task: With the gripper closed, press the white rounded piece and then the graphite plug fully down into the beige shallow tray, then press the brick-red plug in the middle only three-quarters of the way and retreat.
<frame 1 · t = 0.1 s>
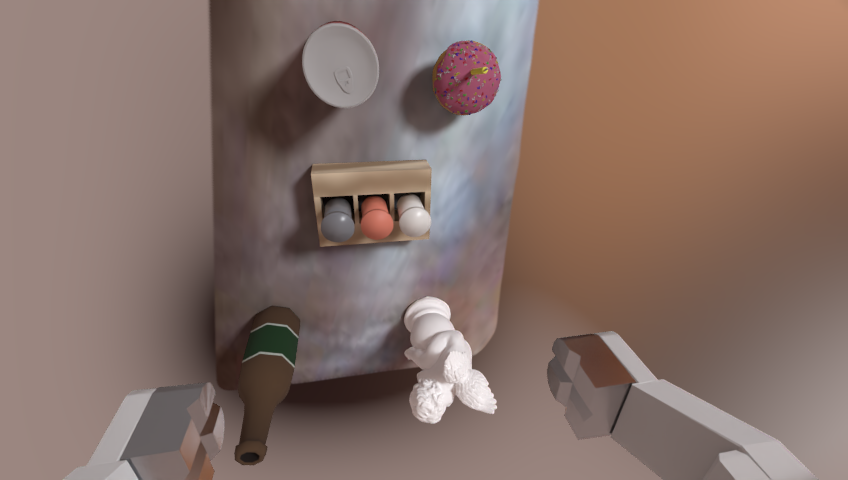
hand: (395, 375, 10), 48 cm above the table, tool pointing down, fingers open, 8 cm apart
red plug: (375, 216, 53), point 6 cm above the table, slide at 0.0 cm
cupcake: (457, 74, 52), on the table
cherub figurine: (427, 306, 71), on the table
beer bottle: (277, 321, 67), on the table
white rounded piece: (412, 213, 54), point 6 cm above the table, slide at 0.0 cm
canned food: (341, 57, 49), on the table
graphite plug: (337, 218, 53), point 6 cm above the table, slide at 0.0 cm
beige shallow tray: (372, 197, 59), on the table
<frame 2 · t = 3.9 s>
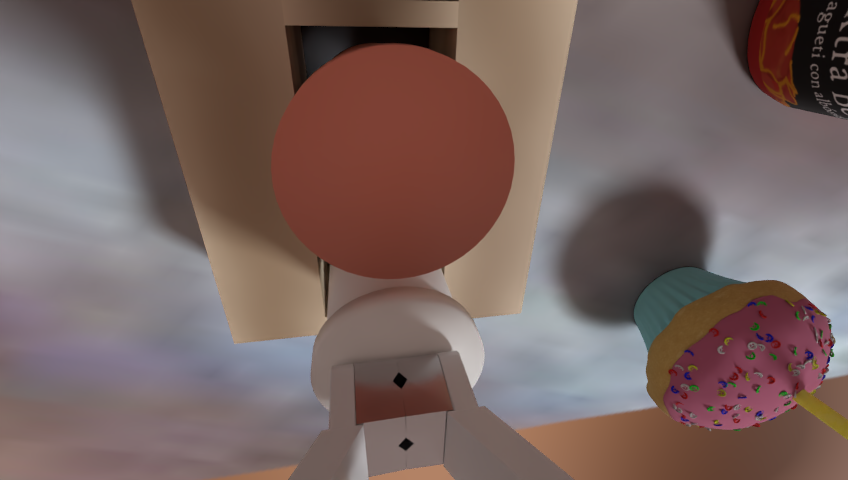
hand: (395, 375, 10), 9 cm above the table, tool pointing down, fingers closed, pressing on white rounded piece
red plug: (384, 136, 9), point 6 cm above the table, slide at 0.0 cm
cupcake: (666, 299, 23), on the table
white rounded piece: (389, 299, 12), point 6 cm above the table, slide at 0.2 cm, touching gripper
canned food: (826, 8, 16), on the table
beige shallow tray: (369, 90, 15), on the table
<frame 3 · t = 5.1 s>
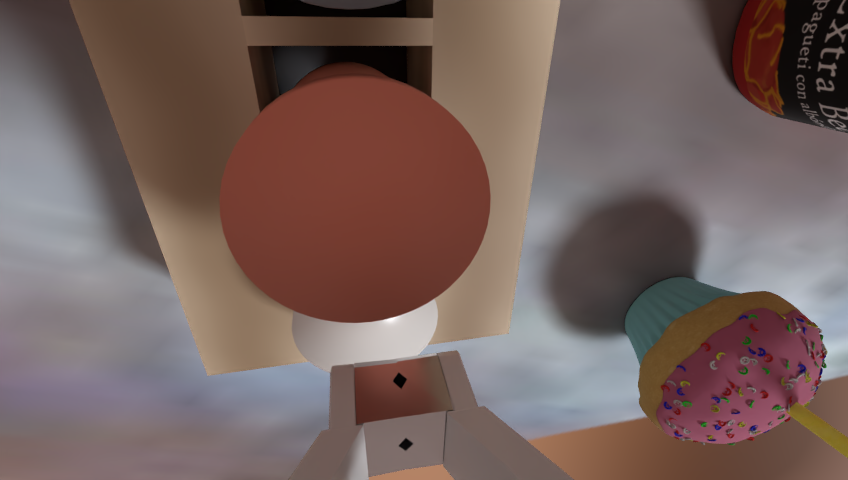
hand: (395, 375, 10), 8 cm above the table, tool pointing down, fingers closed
red plug: (355, 164, 9), point 6 cm above the table, slide at 0.0 cm
cupcake: (657, 309, 23), on the table
white rounded piece: (361, 272, 14), point 3 cm above the table, slide at 3.2 cm
canned food: (810, 16, 16), on the table
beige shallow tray: (346, 107, 14), on the table
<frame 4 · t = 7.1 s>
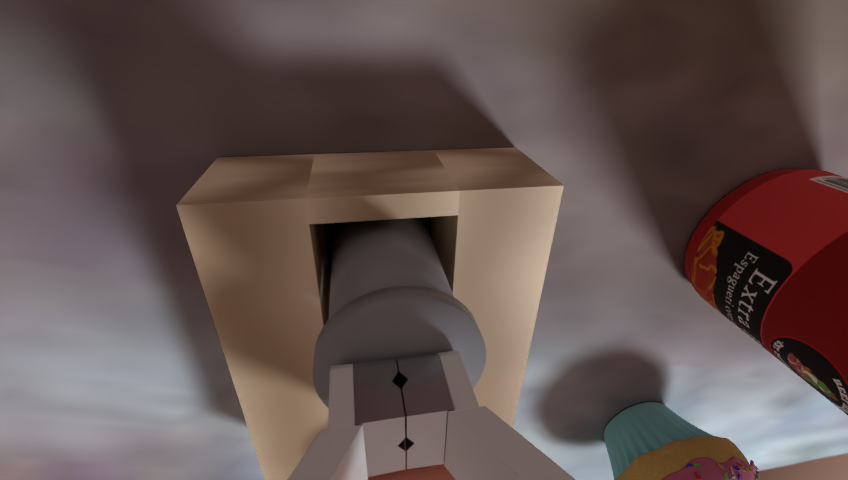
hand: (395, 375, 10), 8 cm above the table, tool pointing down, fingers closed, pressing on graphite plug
red plug: (398, 441, 13), point 6 cm above the table, slide at 0.0 cm
cupcake: (631, 422, 28), on the table
canned food: (748, 232, 20), on the table
graphite plug: (390, 299, 12), point 5 cm above the table, slide at 1.3 cm, touching gripper
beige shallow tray: (382, 317, 19), on the table
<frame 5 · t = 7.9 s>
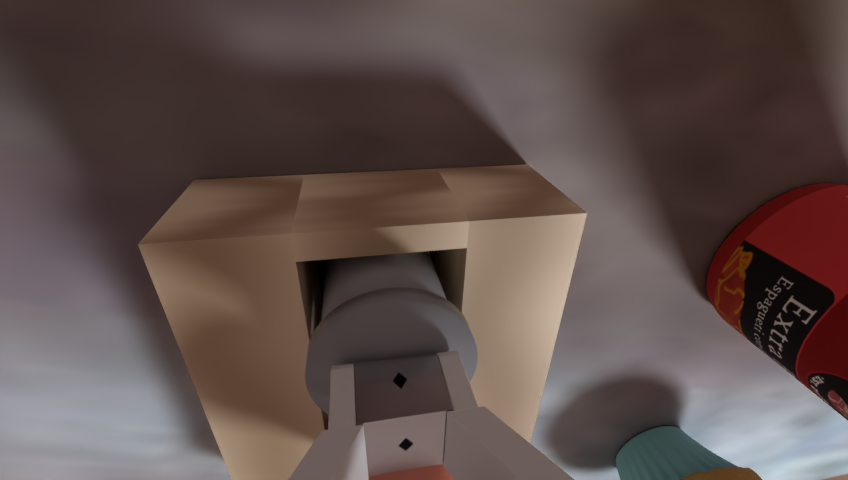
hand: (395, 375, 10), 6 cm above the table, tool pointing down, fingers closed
cupcake: (644, 446, 26), on the table
canned food: (774, 250, 19), on the table
graphite plug: (383, 300, 12), point 3 cm above the table, slide at 3.2 cm
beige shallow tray: (381, 347, 17), on the table
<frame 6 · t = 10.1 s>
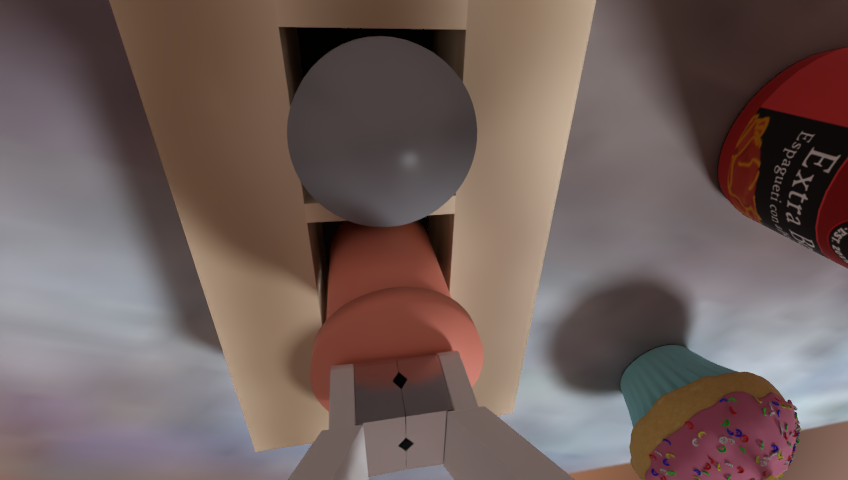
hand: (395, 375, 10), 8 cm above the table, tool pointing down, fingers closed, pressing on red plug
red plug: (388, 299, 12), point 5 cm above the table, slide at 1.2 cm, touching gripper
cupcake: (650, 370, 25), on the table
canned food: (789, 135, 18), on the table
graphite plug: (376, 115, 11), point 3 cm above the table, slide at 3.2 cm
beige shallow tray: (376, 222, 16), on the table
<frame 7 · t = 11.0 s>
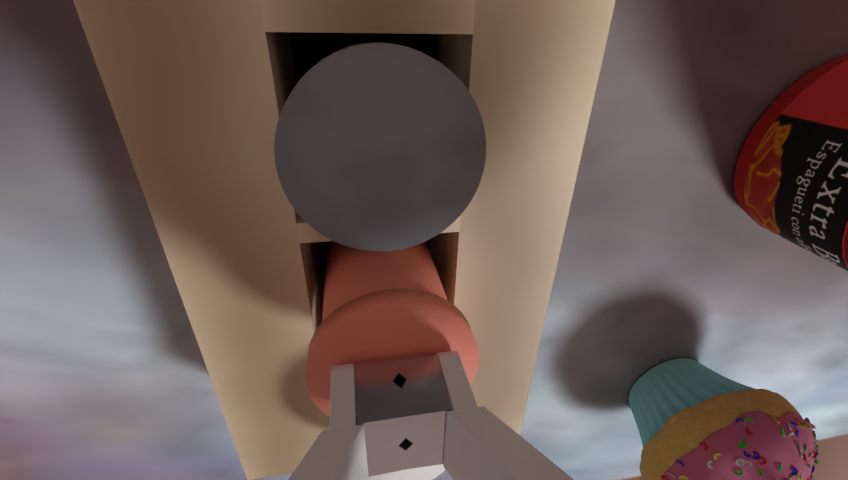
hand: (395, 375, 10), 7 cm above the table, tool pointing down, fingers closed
red plug: (384, 301, 12), point 4 cm above the table, slide at 2.2 cm
cupcake: (659, 384, 24), on the table
white rounded piece: (386, 388, 15), point 3 cm above the table, slide at 3.2 cm
canned food: (808, 142, 17), on the table
graphite plug: (375, 126, 10), point 3 cm above the table, slide at 3.2 cm
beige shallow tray: (375, 236, 15), on the table
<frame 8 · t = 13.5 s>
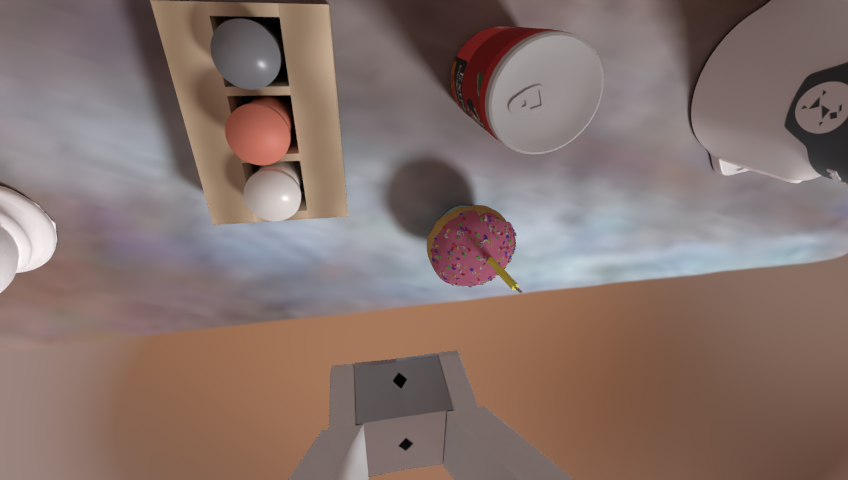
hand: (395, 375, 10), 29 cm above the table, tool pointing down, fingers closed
red plug: (264, 126, 30), point 4 cm above the table, slide at 2.2 cm
cupcake: (458, 225, 42), on the table
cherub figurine: (26, 225, 34), on the table
white rounded piece: (277, 183, 33), point 3 cm above the table, slide at 3.2 cm
canned food: (491, 74, 35), on the table
graphite plug: (254, 51, 28), point 3 cm above the table, slide at 3.2 cm
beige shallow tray: (272, 114, 33), on the table
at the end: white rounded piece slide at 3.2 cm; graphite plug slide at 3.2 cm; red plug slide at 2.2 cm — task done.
